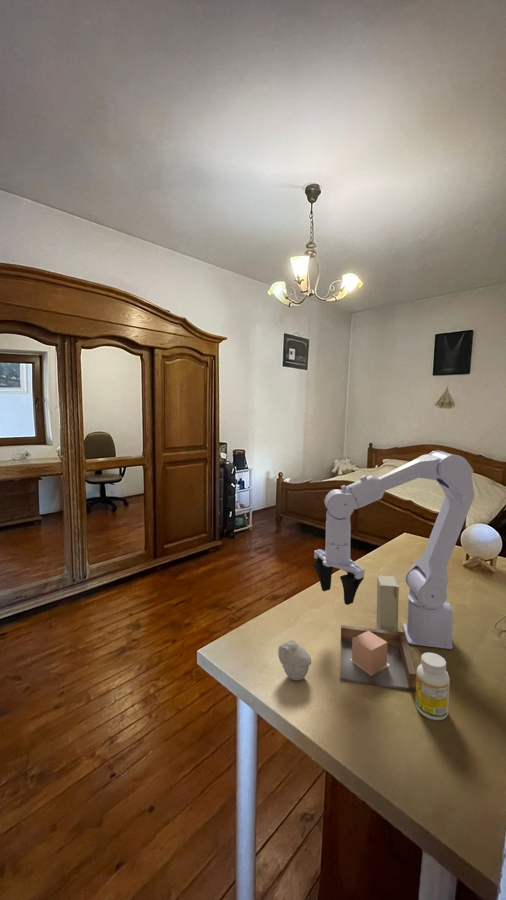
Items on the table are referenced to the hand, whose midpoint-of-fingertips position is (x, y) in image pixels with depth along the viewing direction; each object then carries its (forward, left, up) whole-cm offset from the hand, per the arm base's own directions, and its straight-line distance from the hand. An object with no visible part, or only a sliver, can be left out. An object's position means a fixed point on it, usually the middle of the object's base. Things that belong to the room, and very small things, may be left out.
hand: (337, 596), depth 91 cm
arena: (-8, +9, -9) cm, 15 cm away
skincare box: (-12, -5, -10) cm, 16 cm away
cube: (-7, +10, -9) cm, 15 cm away
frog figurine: (+8, +17, -10) cm, 21 cm away
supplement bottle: (-17, +20, -10) cm, 28 cm away
